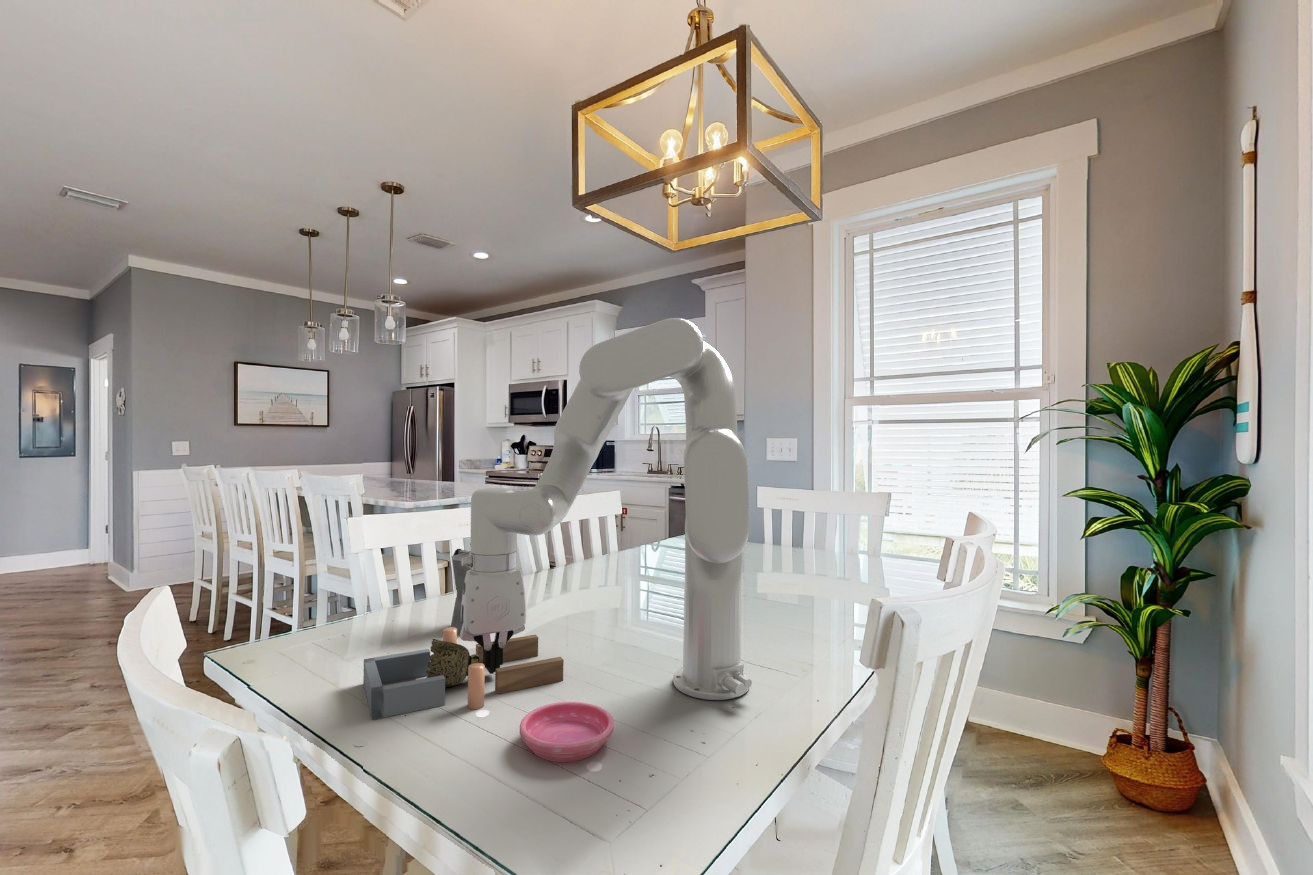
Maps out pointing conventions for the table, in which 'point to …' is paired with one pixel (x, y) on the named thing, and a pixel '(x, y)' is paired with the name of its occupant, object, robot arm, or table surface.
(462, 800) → the table surface
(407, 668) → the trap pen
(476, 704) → the goal posts
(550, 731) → the pink bowl
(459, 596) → the coffeepot
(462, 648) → the cup
